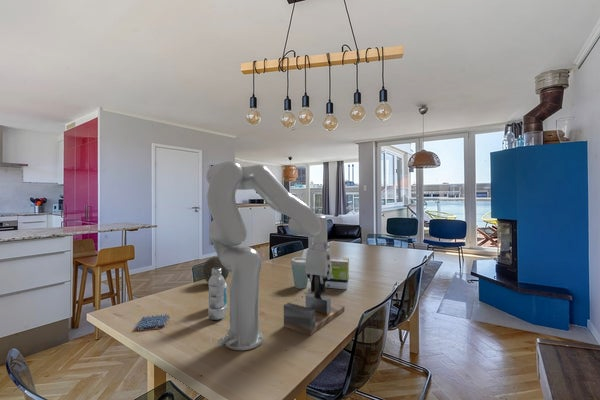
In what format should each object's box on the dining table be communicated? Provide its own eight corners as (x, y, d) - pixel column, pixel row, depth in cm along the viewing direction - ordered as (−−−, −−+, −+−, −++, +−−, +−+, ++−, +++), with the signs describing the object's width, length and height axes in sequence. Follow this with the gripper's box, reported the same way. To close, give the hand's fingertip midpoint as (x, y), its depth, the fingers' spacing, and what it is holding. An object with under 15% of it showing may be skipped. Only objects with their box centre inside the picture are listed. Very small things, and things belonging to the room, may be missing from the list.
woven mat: (133, 333, 102) (133, 328, 102) (141, 321, 112) (141, 316, 112) (165, 330, 104) (165, 324, 104) (170, 318, 115) (170, 313, 115)
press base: (310, 335, 99) (310, 312, 99) (283, 326, 106) (283, 305, 106) (344, 311, 120) (344, 292, 120) (320, 304, 127) (320, 287, 127)
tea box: (319, 287, 151) (319, 260, 151) (322, 282, 161) (322, 256, 161) (347, 289, 148) (347, 261, 148) (349, 284, 158) (348, 257, 157)
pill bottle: (208, 313, 118) (208, 280, 118) (209, 306, 126) (209, 276, 125) (227, 311, 120) (227, 279, 120) (226, 304, 128) (226, 274, 127)
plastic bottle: (218, 314, 117) (218, 265, 117) (228, 318, 113) (228, 268, 113) (204, 319, 112) (204, 268, 112) (214, 323, 108) (214, 271, 108)
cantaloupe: (231, 286, 154) (231, 258, 154) (203, 289, 149) (203, 261, 148) (227, 279, 167) (227, 254, 167) (202, 282, 162) (202, 256, 162)
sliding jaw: (326, 315, 110) (326, 274, 110) (305, 309, 116) (305, 271, 116) (330, 312, 112) (330, 273, 112) (309, 307, 118) (309, 269, 118)
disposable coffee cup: (314, 285, 155) (313, 258, 155) (304, 291, 145) (304, 262, 145) (297, 282, 160) (297, 256, 160) (286, 288, 151) (286, 259, 151)
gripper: (340, 247, 112) (340, 293, 112) (306, 243, 122) (306, 286, 122) (331, 249, 106) (331, 298, 106) (295, 245, 116) (296, 290, 116)
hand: (317, 291), depth 114 cm, fingers closed on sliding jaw, 3 cm apart
